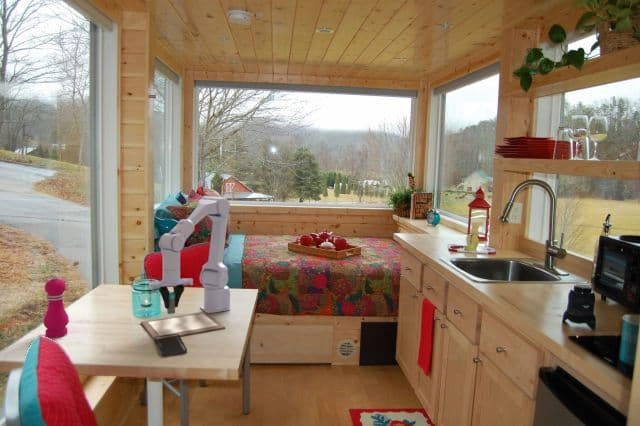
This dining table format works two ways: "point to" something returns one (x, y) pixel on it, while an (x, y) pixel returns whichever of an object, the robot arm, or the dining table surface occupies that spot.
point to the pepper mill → (55, 308)
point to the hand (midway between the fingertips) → (171, 307)
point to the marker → (171, 303)
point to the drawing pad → (182, 325)
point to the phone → (170, 345)
